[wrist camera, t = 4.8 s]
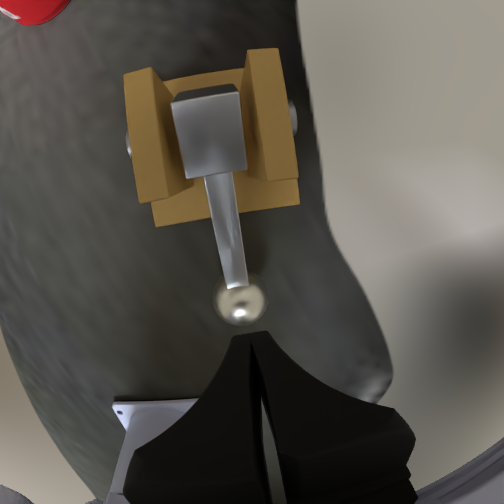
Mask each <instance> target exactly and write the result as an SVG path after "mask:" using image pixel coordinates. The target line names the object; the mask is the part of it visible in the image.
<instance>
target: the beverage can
mask: <svg viewBox="0 0 504 504" xmlns="http://www.w3.org/2000/svg"><path fill="white" fill-rule="evenodd" d="M69 2H70V0H0V12H2V13H3V14H5V15H7V16H9V17H10V18H12V19H14V20H15V21H17V22H19V23H21V24H23V25H31V24H33V25H40V24H43V23H46V22H48V21H50V20H51V19H53V18H54V17H55V16H57V15H58V14H59V13H60V12H61V11H62V10H63V9H64V8H65V7H66V6H67V5H68V3H69Z"/></svg>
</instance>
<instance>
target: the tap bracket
mask: <svg viewBox="0 0 504 504" xmlns="http://www.w3.org/2000/svg"><path fill="white" fill-rule="evenodd" d="M123 80H124V94H125V105H126V115H127V124H128V127H127V129H126V133H125V142H126V148H127V152H128V154H129V157H130V158H131V160H132V162H133V169H134V175H135V181H136V187H137V193H138V198H139V202H140V204H144V203H149V202H151V206H152V211H153V216H154V221H155V226H156V227H161V226H166V225H172V224H177V223H183V222H189V221H194V220H200V219H206V218H211V214H210V209H209V204H208V199H207V194H206V189H205V184H204V179H203V177H198V178H192V179H186V178H185V175H184V170H183V166H182V161H181V157H180V152H179V147H178V143H177V138H176V133H175V128H174V123H173V118H172V113H171V108H170V103H171V101H172V100H173V99H174V97H175V96H176V95H177V93H179V92H183V91H188V90H193V89H199V88H204V87H210V86H217V85H224V84H231V83H232V84H234V85H235V86H236V88H237V89H238V91H239V92H240V97H241V105H242V114H243V123H244V131H245V140H246V149H247V157H248V166H249V167H248V169H247V170H241V171H234V172H233V178H234V185H235V192H236V199H237V206H238V213H243V212H250V211H256V210H263V209H270V208H277V207H284V206H291V205H298V204H300V199H299V190H298V182H297V178H298V177H299V174H298V166H297V159H296V152H295V145H294V138H293V136H295V135H296V133H297V127H298V121H297V113H296V109H295V106H294V103H293V101H292V100H288V99H287V93H286V88H285V82H284V76H283V71H282V65H281V60H280V55H279V50H278V48H266V49H253V50H247V55H246V60H245V66H244V68H240V69H231V70H224V71H217V72H210V73H204V74H198V75H193V76H187V77H182V78H177V79H173V80H168V81H164V82H162V80H161V79H160V78H159V76H158V75H157V74H156V72H155V71H154V70H153V68H152V67H148V68H144V69H141V70H137V71H133V72H130V73H127V74H124V76H123Z"/></svg>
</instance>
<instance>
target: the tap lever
mask: <svg viewBox="0 0 504 504" xmlns="http://www.w3.org/2000/svg"><path fill="white" fill-rule="evenodd" d="M170 108H171V113H172V118H173V123H174V128H175V133H176V138H177V143H178V147H179V152H180V157H181V161H182V166H183V170H184V175H185V178H186V179H192V178H198V177H203V179H204V184H205V189H206V194H207V199H208V204H209V209H210V214H211V218H212V223H213V228H214V233H215V237H216V242H217V247H218V251H219V256H220V260H221V265H222V269H223V274H224V275H223V276H222V277H221V278H220V279H219V280H218V281H217V283H216V284H215V286H214V289H213V293H212V302H213V306H214V309H215V311H216V313H217V314H218V315H219V317H220V318H221V319H223V320H224V321H225V322H227V323H229V324H232V325H236V326H246V325H250V324H252V323H254V322H256V321H257V320H259V319H260V318H261V317H262V316H263V314H264V313H265V311H266V309H267V306H268V302H269V294H268V289H267V287H266V285H265V283H264V281H263V280H262V279H261V278H260V277H259V276H258V275H257V274H255V273H253V272H251V271H248V270H247V267H246V260H245V254H244V247H243V240H242V233H241V226H240V220H239V213H238V206H237V199H236V192H235V185H234V178H233V172H234V171H241V170H247V169H248V167H249V166H248V157H247V149H246V140H245V131H244V123H243V114H242V105H241V97H240V92H239V91H238V89H237V88H236V86H235V85H234V84H232V83H231V84H224V85H217V86H210V87H204V88H199V89H193V90H188V91H183V92H179V93H177V95H176V96H175V97H174V99H173V100H172V101H171V103H170Z"/></svg>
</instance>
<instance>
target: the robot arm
mask: <svg viewBox="0 0 504 504" xmlns="http://www.w3.org/2000/svg"><path fill="white" fill-rule="evenodd" d="M261 398H262V401H263V405H264V408H265V411H266V415H267V418H268V421H269V425H270V428H271V431H272V435H273V438H274V442H275V446H276V450H277V455H278V460H279V466H280V471H281V476H282V481H283V486H284V491H285V497H286V502H287V504H504V438H502V439H501V440H500V441H498V442H497V443H496V444H494V445H493V446H492V447H490V448H489V449H487V450H486V451H485V452H483V453H482V454H480V455H479V456H477V457H476V458H474V459H473V460H471V461H470V462H468V463H467V464H465V465H463V466H462V467H460V468H458V469H457V470H455V471H453V472H452V473H450V474H448V475H446V476H445V477H443V478H441V479H439V480H437V481H435V482H434V483H432V484H430V485H428V486H426V487H424V488H422V489H420V490H418V491H415V490H414V488H413V486H412V484H411V482H410V481H409V478H410V477H411V473H410V471H409V469H408V468H407V466H406V464H407V462H408V460H409V457H410V455H411V453H412V451H413V448H414V445H415V441H416V438H415V435H414V433H413V432H412V430H411V428H410V427H409V425H408V424H407V423H406V421H405V420H404V419H403V418H402V417H401V416H400V415H399V413H397V412H396V410H395V409H394V408H389V407H385V406H381V405H377V404H373V403H369V402H365V401H362V400H359V399H357V398H354V397H351V396H349V395H346V394H344V393H342V392H340V391H338V390H336V389H333V388H331V387H329V386H328V385H326V384H324V383H323V382H321V381H319V380H318V379H316V378H315V377H313V376H312V375H310V374H309V373H308V372H306V371H305V370H304V369H303V368H301V367H300V366H299V365H298V364H297V363H295V362H294V361H293V360H292V359H291V358H290V357H289V356H288V355H287V354H286V353H285V352H284V351H283V350H282V349H281V348H280V347H279V345H278V344H277V343H276V342H275V341H274V339H273V338H272V336H271V335H270V333H269V332H267V331H260V332H254V333H248V334H242V335H235V336H233V337H232V339H231V342H230V345H229V348H228V350H227V352H226V355H225V357H224V359H223V361H222V363H221V365H220V367H219V369H218V371H217V372H216V374H215V376H214V377H213V379H212V380H211V382H210V384H209V385H208V387H207V388H206V389H205V391H204V392H203V394H202V395H201V396H200V397H199V398H196V399H183V400H167V401H135V402H114V403H113V405H112V408H113V409H114V411H115V413H116V415H117V416H118V418H119V420H120V421H121V423H122V425H123V426H124V428H125V429H126V431H127V432H126V435H125V438H124V442H123V445H122V448H121V452H120V455H119V459H118V462H117V466H116V469H115V473H114V477H113V481H112V484H111V488H110V492H108V495H107V499H106V503H105V504H273V500H272V495H271V489H270V483H269V478H268V472H267V466H266V460H265V454H264V445H263V429H262V408H261ZM0 504H34V503H32V502H31V501H30V500H29V499H28V498H26V497H25V496H23V495H22V494H20V493H18V492H16V491H14V490H12V489H9V488H7V487H5V486H3V485H0ZM85 504H103V501H101V500H98V499H94V500H93V501H90V502H87V503H85Z"/></svg>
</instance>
